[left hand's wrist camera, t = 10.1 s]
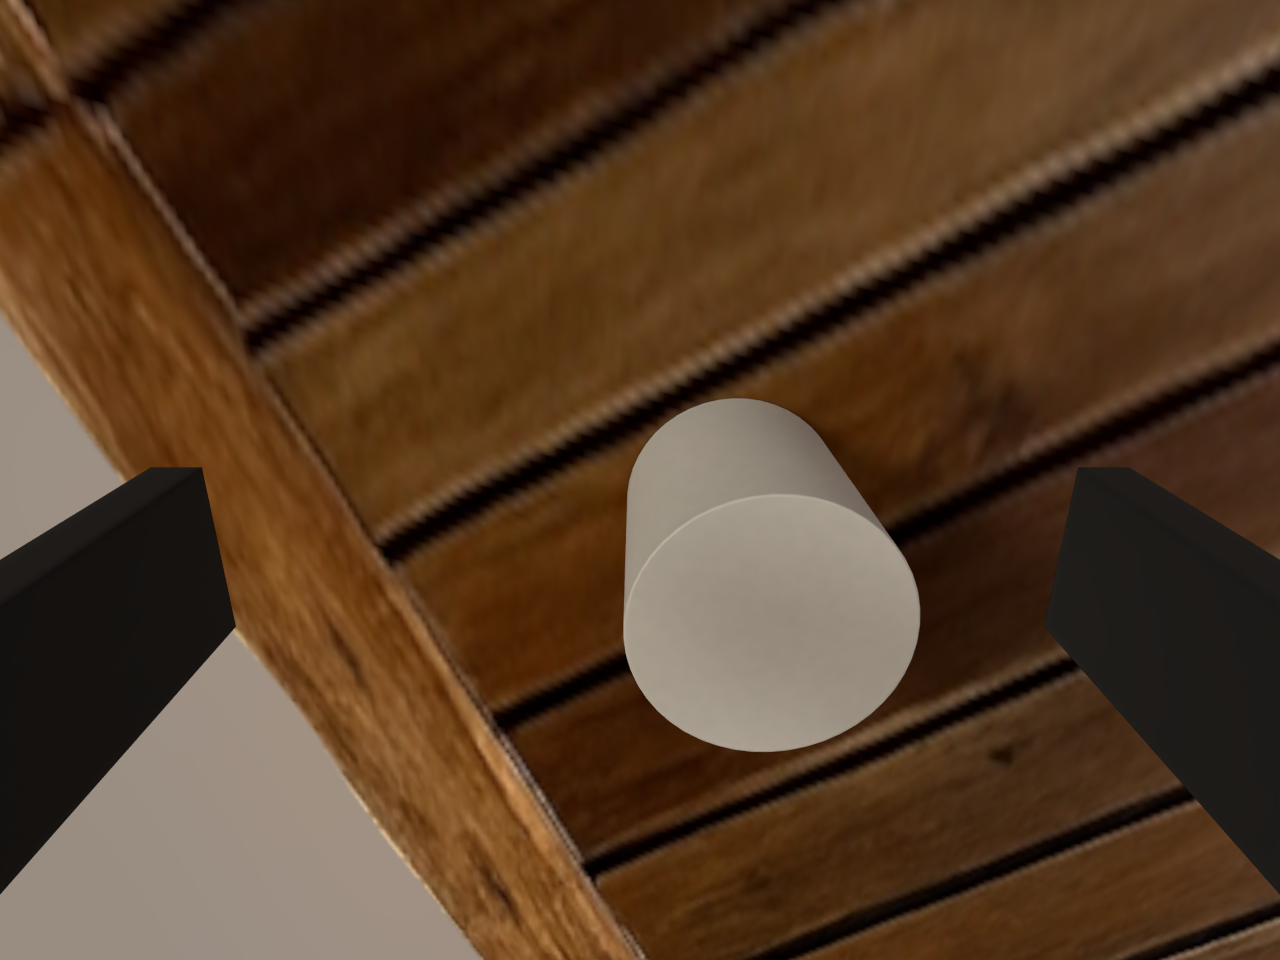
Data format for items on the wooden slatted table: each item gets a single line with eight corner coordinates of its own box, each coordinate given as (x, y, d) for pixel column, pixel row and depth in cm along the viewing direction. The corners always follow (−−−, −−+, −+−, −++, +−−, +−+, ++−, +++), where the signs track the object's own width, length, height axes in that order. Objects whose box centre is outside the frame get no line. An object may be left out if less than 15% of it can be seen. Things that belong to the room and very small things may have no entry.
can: (591, 541, 29) (573, 686, 21) (690, 359, 27) (714, 441, 18) (769, 623, 30) (819, 791, 22) (879, 457, 28) (981, 575, 20)
